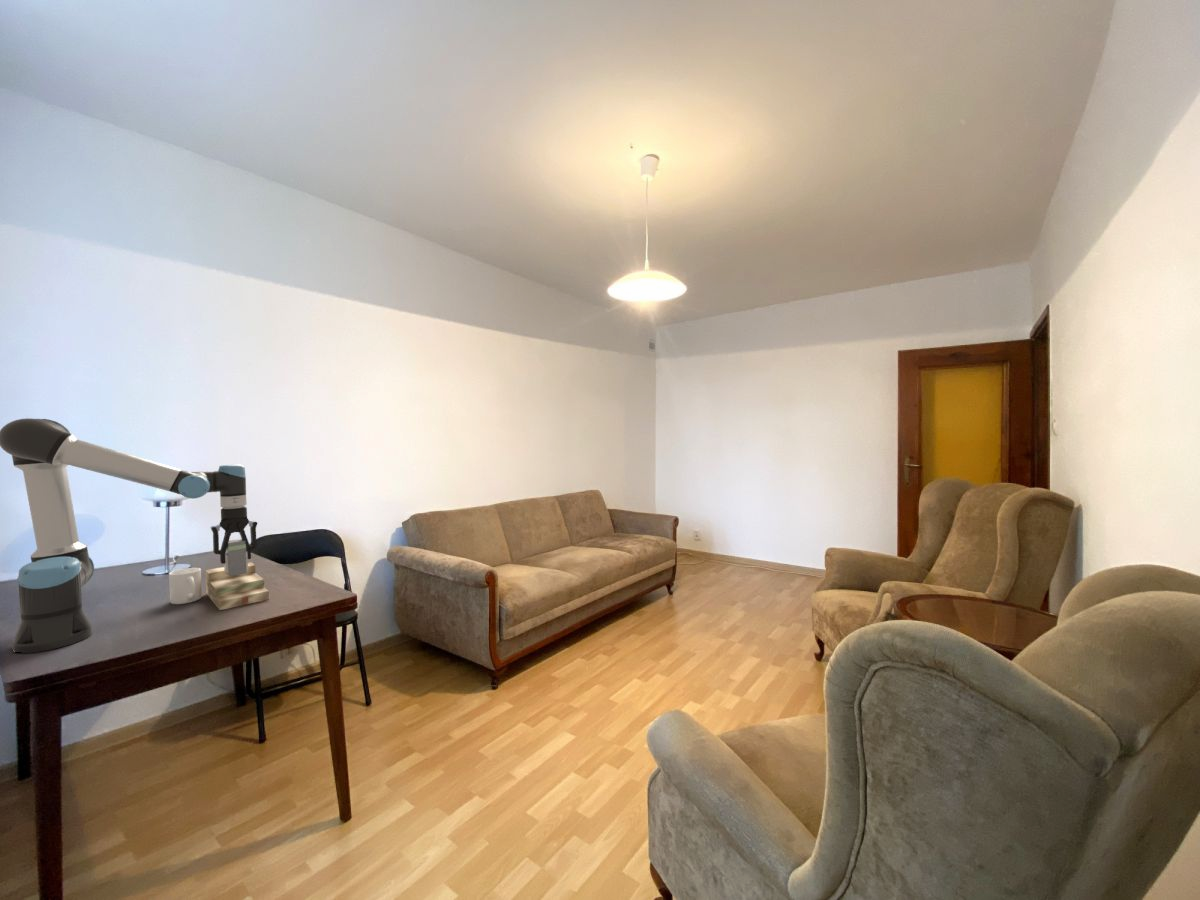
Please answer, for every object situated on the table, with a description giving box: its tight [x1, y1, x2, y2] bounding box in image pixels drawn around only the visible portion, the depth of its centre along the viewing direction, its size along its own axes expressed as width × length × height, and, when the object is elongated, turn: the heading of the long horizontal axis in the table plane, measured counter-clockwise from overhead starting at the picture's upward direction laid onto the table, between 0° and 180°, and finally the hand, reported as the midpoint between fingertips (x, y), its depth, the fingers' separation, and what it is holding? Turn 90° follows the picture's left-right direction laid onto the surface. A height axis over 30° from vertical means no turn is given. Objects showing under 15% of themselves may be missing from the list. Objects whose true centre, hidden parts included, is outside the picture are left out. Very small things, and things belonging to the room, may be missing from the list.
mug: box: [168, 567, 203, 605], centre depth 169 cm, size 9×12×11 cm
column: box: [226, 538, 247, 576], centre depth 173 cm, size 5×5×12 cm
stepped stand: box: [205, 561, 270, 611], centre depth 173 cm, size 14×24×9 cm, turn 48°
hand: (236, 569), depth 173 cm, fingers closed on column, 5 cm apart
